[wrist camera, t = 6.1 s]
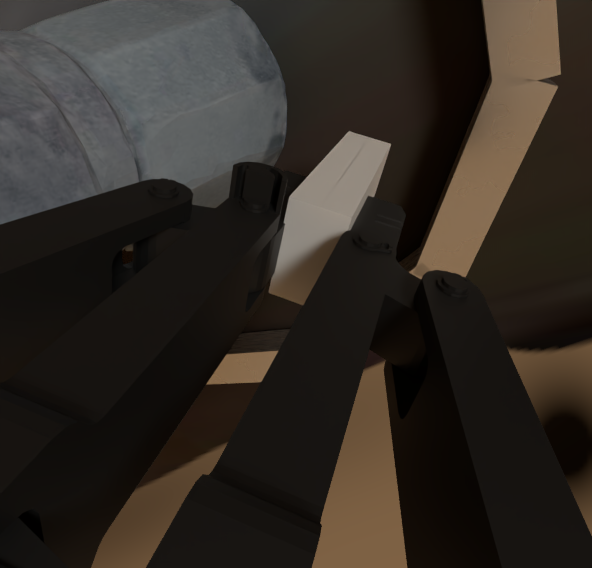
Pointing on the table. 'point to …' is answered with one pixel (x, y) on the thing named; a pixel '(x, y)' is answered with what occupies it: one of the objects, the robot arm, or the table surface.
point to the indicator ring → (464, 160)
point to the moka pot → (135, 102)
